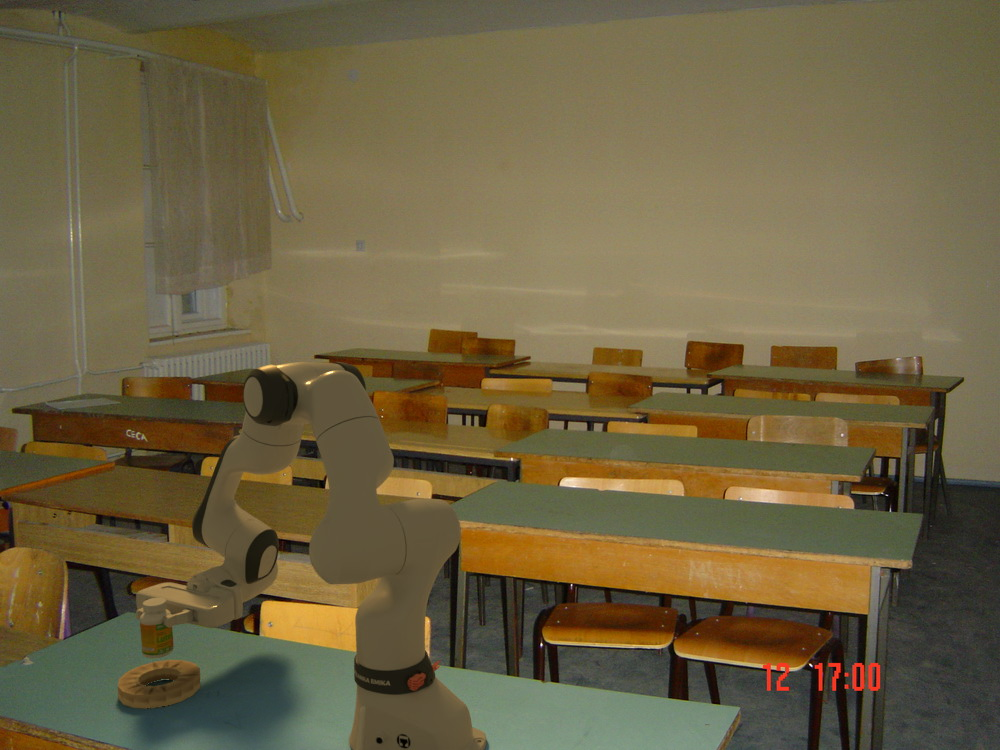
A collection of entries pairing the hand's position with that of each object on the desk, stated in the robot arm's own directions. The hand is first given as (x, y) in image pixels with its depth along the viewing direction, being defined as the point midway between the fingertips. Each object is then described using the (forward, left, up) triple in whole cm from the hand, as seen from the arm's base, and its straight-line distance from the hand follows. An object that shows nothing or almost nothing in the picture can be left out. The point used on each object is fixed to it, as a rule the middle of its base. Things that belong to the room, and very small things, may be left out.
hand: (151, 619), depth 167 cm
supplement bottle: (0, -1, -7) cm, 7 cm away
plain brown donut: (0, -1, -14) cm, 14 cm away
